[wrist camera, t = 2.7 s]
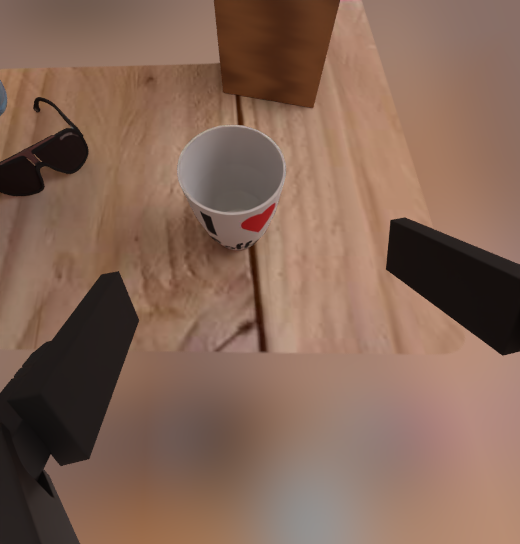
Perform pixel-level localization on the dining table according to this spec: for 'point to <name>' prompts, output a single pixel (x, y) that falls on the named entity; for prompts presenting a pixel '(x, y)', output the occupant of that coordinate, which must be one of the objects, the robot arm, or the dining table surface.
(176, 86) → the dining table surface
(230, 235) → the cup
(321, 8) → the stand
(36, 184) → the sunglasses
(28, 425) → the robot arm
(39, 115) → the dining table surface
